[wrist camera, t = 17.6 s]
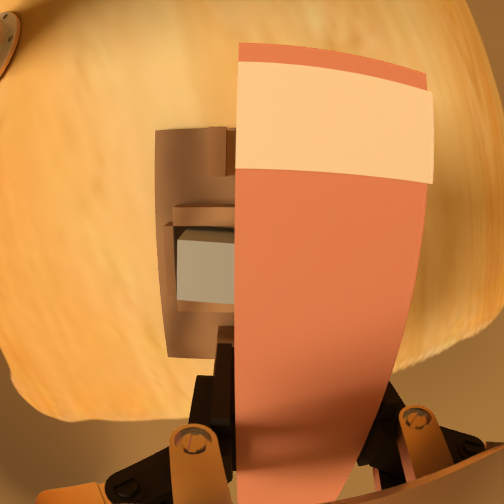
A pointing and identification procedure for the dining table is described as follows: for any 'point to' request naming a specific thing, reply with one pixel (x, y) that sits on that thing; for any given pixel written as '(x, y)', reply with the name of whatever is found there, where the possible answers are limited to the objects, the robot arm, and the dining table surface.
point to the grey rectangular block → (206, 264)
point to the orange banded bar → (321, 258)
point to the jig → (192, 214)
